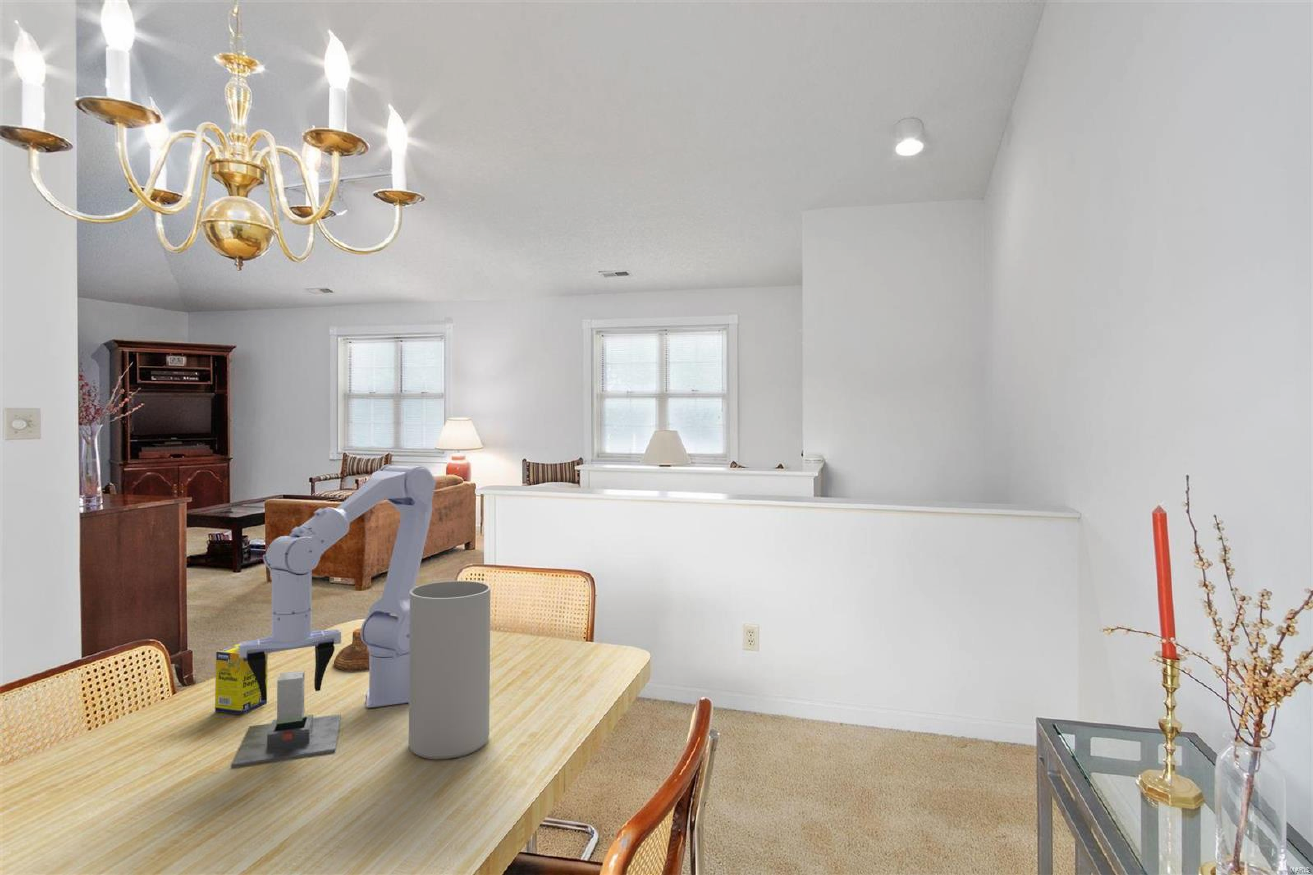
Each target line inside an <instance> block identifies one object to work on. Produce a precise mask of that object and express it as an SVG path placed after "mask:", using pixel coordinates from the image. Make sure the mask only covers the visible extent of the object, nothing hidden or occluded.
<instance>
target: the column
mask: <svg viewBox="0 0 1313 875" xmlns="http://www.w3.org/2000/svg"><path fill="white" fill-rule="evenodd" d="M305 671H306V670H299V671H290V672H289V671H288V672H283V673H282V672H281V673H280V674H279V676H278V677H277V682H276V683H277V684H276V688H277V689H276V690H277V692H276V708H277V709H276V719H277V724H281V723H288V722H296V721H302V719H303V716H305V711H306V710H305V681H306V680H305V678H306V676H305Z"/></svg>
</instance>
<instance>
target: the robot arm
mask: <svg viewBox="0 0 1313 875" xmlns="http://www.w3.org/2000/svg"><path fill="white" fill-rule="evenodd" d="M370 475H371V476H370V478H369V479H368V480H367V481H366V482H365V483H364V484H363V485H361V487H359V488H358V489H357V490H356V491H355V492H353V493H352V494H351V495H349V497H347V498H346V499H345V500H344V501H343V502H341V503H340V504H339V505H338V506H337V507H336V508H335V507H329V506H327V507H325V508H318V509H317V510H315V511H314V512H313V513H314V515H313V516H312V517H311V518H310V519H308V520H307V521H305V522H304V523H302V524H301V525H300V526H295V527H294V528H292V529H291V533H290V534H289V535H282V536H281V535H280V536H279V537H277V538H275V539H274V540H272V541H271V543H270V544H269V546H268V547H267V549H266V553H265V554H263V555H262V560H263V563H264V565H265V566H266V567H267V568H268V570H269V573H270V575H269V576H270V580H271V627H270V628H271V629H270V630H271V635H270V636H268V637H262V638H258V639H254V640H248V641H242V642H239V643H238V644H239V658H245V657H247V662H248V665H249V667H250V668H251V670H252V672H253V674H254V676H255V678H256V680H257V683H258V685H259V689H260V692H261V701H264V700H267V701H268V691H267V692H266V680H265V679H266V659H265V653H268V654H269V653H277V652H283V651H284V652H285V651H292V650H296V649H304V648H312V647H314V651H315V653H314V657H315V658H314V660H315V668H314V679H313V680H314V684H313V685H314V690H315V692H320V691H321V688H322V683H323V678H324V676H325V672H326V669H327V667H328V665H329V662H330V661H331V659H332V657H333V656H334V653H335V645H339V644H340V645H341V644H342V631H341V630H340V628H339V629H329V630H312V579H313V578H312V575H313V574H312V572H313V570H314V569H316V568H317V567H318V565H319V563H320V560H321V557H322V556H323V554H324V553H325V552H326V551H327V550H328V549H330V547H332V546H333V545H335V544H336V543H337V542H338V541H340V540H341V539H342V538H343V537H345V536H346V535H347V534H348V532H349V531H350V525H351V523H352V522H353V521H354V520H356V519H357V518H359V517H361V516H362V515H363V514H364V513H366V512H368V511H369V510H370V509H372V508H373V507H374V506H376V505H377V504H380V503H381V502H382V501H383V500H386V501H387V502H389V503H390V504H391V505H392V506H393V507H394V508H395V509H396V510H397V511H398V513H399V514H400V517H401V518H400V520H399V521H400V522H399V525H398V528H397V534H396V538H395V541H394V546H393V550H392V554H391V558H390V563H389V565H388V566H389V567H388V570H387V575H386V579H385V584H384V587H383V592H382V595H381V597H380V598H379V599H378V600H376V601H375V602H374V603H372V604H371V605H370V607H369V611H368V614H367V616H366V617H365V619H364V621H363V623H362V625H361V627H360V628H361V632H360V635H361V639H362V641H363V643H364V644H366V645H367V651H369V653H370V654H369V669H368V670H369V671H368V672H369V673H368V674H369V675H368V676H369V679H368V690H367V691H366V703H365V704H366V705H365V707H366V708H368V709H370V708H376V707H377V708H378V707H384V706H393V705H400V704H409V628H410V590H411V589H413V588H415V587H416V585H417V580H418V576H419V571H420V568H421V563H422V559H423V554H424V551H425V550H424V549H425V545H426V542H427V537H428V532H429V528H430V524H431V519H432V515H433V498H434V493H435V489H436V484H437V481H436V479H435V478H434V476H433V474H432V472H431V471H430V470H429V468H428V467H426V466H422V465H416V466H413V465H412V466H411V465H393V464H385V465H383V466H381V467H380V468H379V470H376V471H374V472H372V473H371V474H370ZM392 614H393V615H392ZM395 615H396V616H395Z"/></svg>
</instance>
